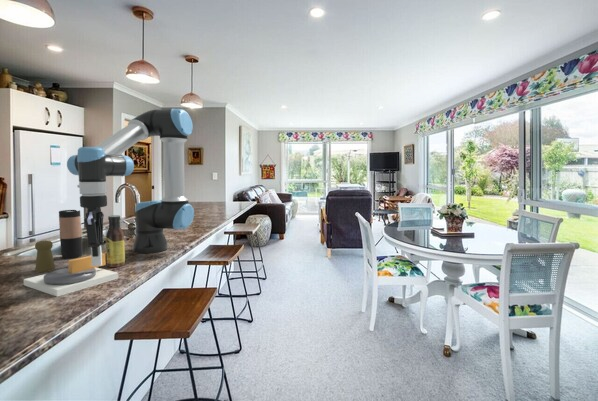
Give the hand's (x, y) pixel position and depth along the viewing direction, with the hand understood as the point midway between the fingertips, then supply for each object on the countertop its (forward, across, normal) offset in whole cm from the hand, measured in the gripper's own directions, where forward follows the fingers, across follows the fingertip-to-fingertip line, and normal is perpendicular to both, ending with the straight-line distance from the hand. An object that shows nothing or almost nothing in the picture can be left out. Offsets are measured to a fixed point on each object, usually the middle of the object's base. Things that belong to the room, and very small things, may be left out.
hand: (97, 265), depth 109 cm
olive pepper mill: (+6, -21, -22) cm, 31 cm away
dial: (+3, -2, -6) cm, 7 cm away
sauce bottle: (+6, -19, +2) cm, 20 cm away
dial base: (+6, -3, -8) cm, 10 cm away
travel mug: (+6, -39, -19) cm, 44 cm away
